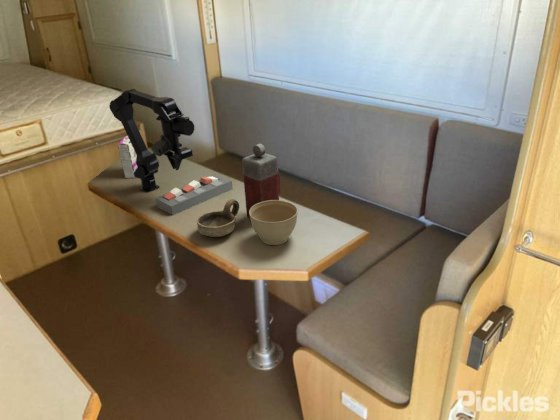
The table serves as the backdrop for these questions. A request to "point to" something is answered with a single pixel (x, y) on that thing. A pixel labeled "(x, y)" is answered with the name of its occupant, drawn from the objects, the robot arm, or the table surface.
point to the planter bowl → (273, 220)
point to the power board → (195, 195)
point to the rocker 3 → (208, 180)
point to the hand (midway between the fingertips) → (175, 169)
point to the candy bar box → (127, 157)
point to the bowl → (219, 220)
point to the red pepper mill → (260, 177)
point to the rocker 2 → (191, 186)
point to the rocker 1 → (173, 194)
